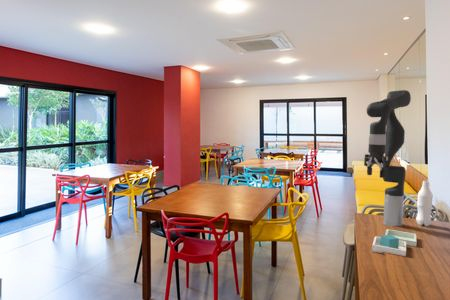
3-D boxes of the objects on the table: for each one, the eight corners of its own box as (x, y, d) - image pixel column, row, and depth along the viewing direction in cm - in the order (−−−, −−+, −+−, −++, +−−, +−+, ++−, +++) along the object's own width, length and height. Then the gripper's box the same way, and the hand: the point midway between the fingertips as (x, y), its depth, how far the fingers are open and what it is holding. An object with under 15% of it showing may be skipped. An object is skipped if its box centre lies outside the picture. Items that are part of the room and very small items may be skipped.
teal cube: (380, 246, 136) (380, 235, 135) (389, 245, 137) (390, 234, 136) (388, 250, 131) (389, 239, 130) (398, 249, 132) (398, 238, 132)
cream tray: (374, 242, 142) (375, 236, 142) (405, 248, 136) (406, 241, 136) (372, 251, 132) (372, 244, 131) (405, 258, 125) (406, 251, 125)
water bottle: (425, 223, 174) (427, 180, 172) (434, 227, 167) (437, 182, 165) (413, 223, 174) (415, 180, 172) (421, 227, 167) (424, 182, 165)
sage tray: (386, 234, 153) (386, 229, 153) (415, 239, 147) (415, 233, 146) (384, 242, 142) (384, 236, 142) (416, 248, 136) (416, 241, 136)
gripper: (394, 144, 143) (393, 178, 144) (373, 143, 156) (371, 174, 157) (381, 144, 141) (379, 178, 142) (360, 142, 155) (359, 174, 156)
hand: (375, 176), depth 150 cm, fingers open, 8 cm apart
